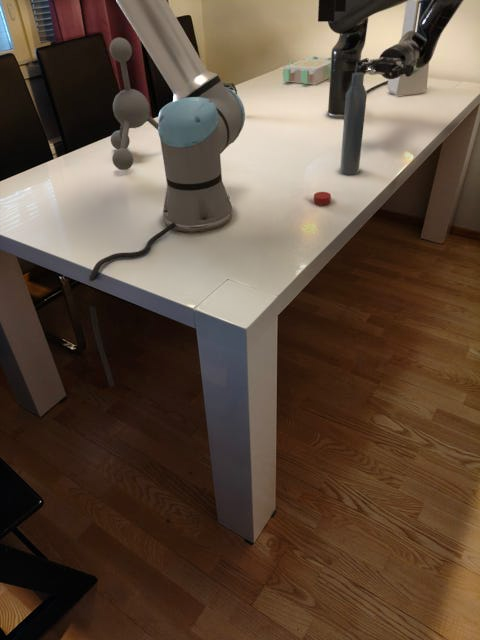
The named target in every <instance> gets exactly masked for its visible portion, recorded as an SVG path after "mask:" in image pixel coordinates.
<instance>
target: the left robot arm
mask: <svg viewBox="0 0 480 640" xmlns="http://www.w3.org/2000/svg"><path fill="white" fill-rule="evenodd" d="M115 1H116V3H117V5H118V6H119V9H120V10H121V11H122V13H123V15H124V16H125V18H126V19H127V21H128V22H129V24H130V25H131V27H132V29H133V30H134V32H135V33H136V35H137V37H138V38H139V40H140V42H141V43H142V45H143V47H144V48H145V50H146V51H147V53H148V55H149V56H150V59H152V61H153V63H154V64H155V66H156V68H157V70H158V71H159V72H160V75H161V76H162V77H163V79H164V81H165V82H166V84H167V85H168V87H169V88H170V90H171V92H172V94H173V96H172V97H173V98H172V101H170V102H168V103H167V104H165V105H164V106H163V107H162V108H161V109H160V110H159V113H158V117H157V123H158V124H159V127H158V130H157V132H158V136H159V140H160V148H161V154H162V159H163V168H164V174H165V180H166V190H165V191H166V192H165V196H164V203H163V207H162V218H163V222H164V224H165V228H163V229H161V231H159V232H157V233H156V234H155V235H154V236H152V237H151V238H150V239H149V240H148V241H147V242H146V244H145V247H144V248H143V249H140V250H138V251H132V252H118V253H117V252H116V253H112V254H111V255H108V256H105V257H103V258H101V259H100V260H98V261H97V262H96V264H95V265H94V267H93V269H92V270H91V273H90V276H89V279H88V281H89V282H94V281H95V280H96V278H97V274H98V272H99V271H100V269H101V267H103V266H104V265H105V264H107V263H109V262H111V261H113V260H117V259H125V258H126V259H127V258H138V257H141V256H143V255H145V254H147V253H148V252H149V251H150V249H151V248H152V245H153V244H154V243H155V242H156V241H157V240H159V239H160V238H162V237H163V236H165V235H166V234H167V233H168V232H170V231H171V230H173V231H177V232H180V233H190V234H191V233H192V234H193V233H194V234H195V233H196V234H197V233H205V232H206V233H207V232H210V231H215V230H216V229H220V228H222V227H224V226H226V225H227V224H228V223H230V221H231V220H232V218H233V216H234V212H233V211H234V210H233V205H232V201H231V196H230V194H229V193H228V192H227V190H226V187H225V184H224V182H223V175H222V174H223V173H222V161H221V154H222V153H223V152H224V151H225V150H226V149H227V148H228V147H229V146H230V145H232V144H233V143H235V141H236V140H237V138H238V137H239V136H240V134H241V132H242V131H243V128H244V125H245V120H246V112H245V106H244V104H243V101H242V100H241V98H240V96H239V95H238V93H237V94H236V93H235V91H234V90H231V89H228V88H226V87H224V85H223V83H224V82H222V80H221V78H220V76H219V74H218V73H216V72H213V71H210V70H207V68H206V66H205V65H204V63H203V61H202V59H201V58H200V55H199V54H198V52H197V51H196V49H195V47H194V46H193V44H192V42H191V41H190V39H189V37H188V36H187V34H186V32H185V30H184V28H183V27H182V25H181V23H180V22H179V20H178V18H177V16H176V15H175V13H174V11H173V9H172V8H171V6H170V4H169V2H168V0H115ZM317 9H318V10H317V11H318V12H317V22H318V23H321V22H324V23H325V22H326V23H328V22H329V21H334V18H335V12H343V11H346V0H318V8H317ZM89 309H90V310H89V311H90V316H91V318H90V319H91V324H92V330H93V333H94V339H95V341H96V345H97V348H98V352H99V355H100V358H101V361H102V364H103V368H104V371H105V374H106V377H107V381H108V385H109V387H114V386H115V382H114V378H113V374H112V371H111V368H110V365H109V361H108V359H107V354H106V352H105V349H104V345H103V341H102V337H101V333H100V328H99V323H98V317H97V309H96V306H93V305H91V304H90V305H89Z"/></svg>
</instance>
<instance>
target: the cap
mask: <svg viewBox="0 0 480 640" xmlns="http://www.w3.org/2000/svg"><path fill="white" fill-rule="evenodd" d="M331 200H332V195H331V193H330V192H327V191H318V192H315V193H314V194H313V204H315V205H317V206H328V205H330V203H331Z"/></svg>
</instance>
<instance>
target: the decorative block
mask: <svg viewBox="0 0 480 640" xmlns="http://www.w3.org/2000/svg"><path fill="white" fill-rule="evenodd" d="M287 64H288V65H286V66H284V68H282V82H287V83H297V84H305V85H318V84H321V83H322V82H324V81H327V80H330V71H331V57H317V56H313V57H310V58H307V59H306V58H305V59H302V60H299V61H296V62H293V61H290V62H288V63H287Z"/></svg>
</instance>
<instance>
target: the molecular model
mask: <svg viewBox="0 0 480 640" xmlns="http://www.w3.org/2000/svg"><path fill="white" fill-rule="evenodd" d="M109 53H110V55H111V57H112V59H113V60H115V61H116V62H118V63H120V70H121V76H122V81H123V86H124V89H123V90H121V91H119V92H118V93H117V94H116V95H115V97H114V99H113V102H112V112H113V115H114V117H115V119H116V121H117V122H118V123H120V127H119V129H118V130H115V131H114V132H113V133H111V136H110V144H111V145H112V147H113V148H114V149H115V151H114V152H113V153H112V156H111V160H112V163H113V165H114V167H115V168H117V169H118V170H121V171H128V170H129V169H131V167H132V166H133V164H134V156H133V153H131V151H130V150H128V147H129V146H130V141H131V140H130V136H129V133H130V129H138V128H141V127H142V126H144V125H145V123H147V122H148V123H149V124H150V125H151V126H152V127H154V129H156V130H157V131H158V127H159V124H158V121H156V120H155V119H154V118H153V117H152V116H151V115H150V111H151V110H150V109H151V108H150V103H149V101H148V99H147V98H146V96H145V94H143V93H142V92H140V91H139V90H137V89H134V88H131V83H130V77H129V72H128V65H127V62H128V61H129V60H130V59H131V57H132V54H133V49H132V45H131V44H130V42H129V41H128V40H127V39H126V38H123V37H116V38H114V39H112V40H111V42H110V44H109Z"/></svg>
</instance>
